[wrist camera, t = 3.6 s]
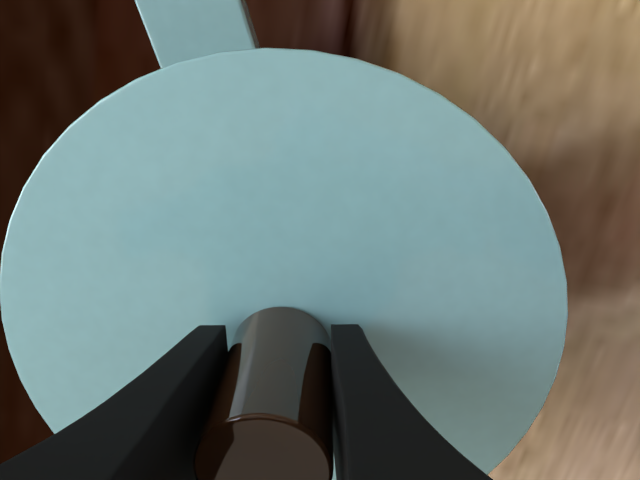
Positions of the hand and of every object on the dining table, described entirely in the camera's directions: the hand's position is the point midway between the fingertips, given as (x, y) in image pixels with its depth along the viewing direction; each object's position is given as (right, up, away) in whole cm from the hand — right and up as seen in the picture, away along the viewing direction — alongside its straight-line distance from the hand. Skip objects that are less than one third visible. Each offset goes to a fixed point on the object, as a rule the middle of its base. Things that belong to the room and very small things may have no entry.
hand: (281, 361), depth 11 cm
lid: (0, 0, +1) cm, 1 cm away
